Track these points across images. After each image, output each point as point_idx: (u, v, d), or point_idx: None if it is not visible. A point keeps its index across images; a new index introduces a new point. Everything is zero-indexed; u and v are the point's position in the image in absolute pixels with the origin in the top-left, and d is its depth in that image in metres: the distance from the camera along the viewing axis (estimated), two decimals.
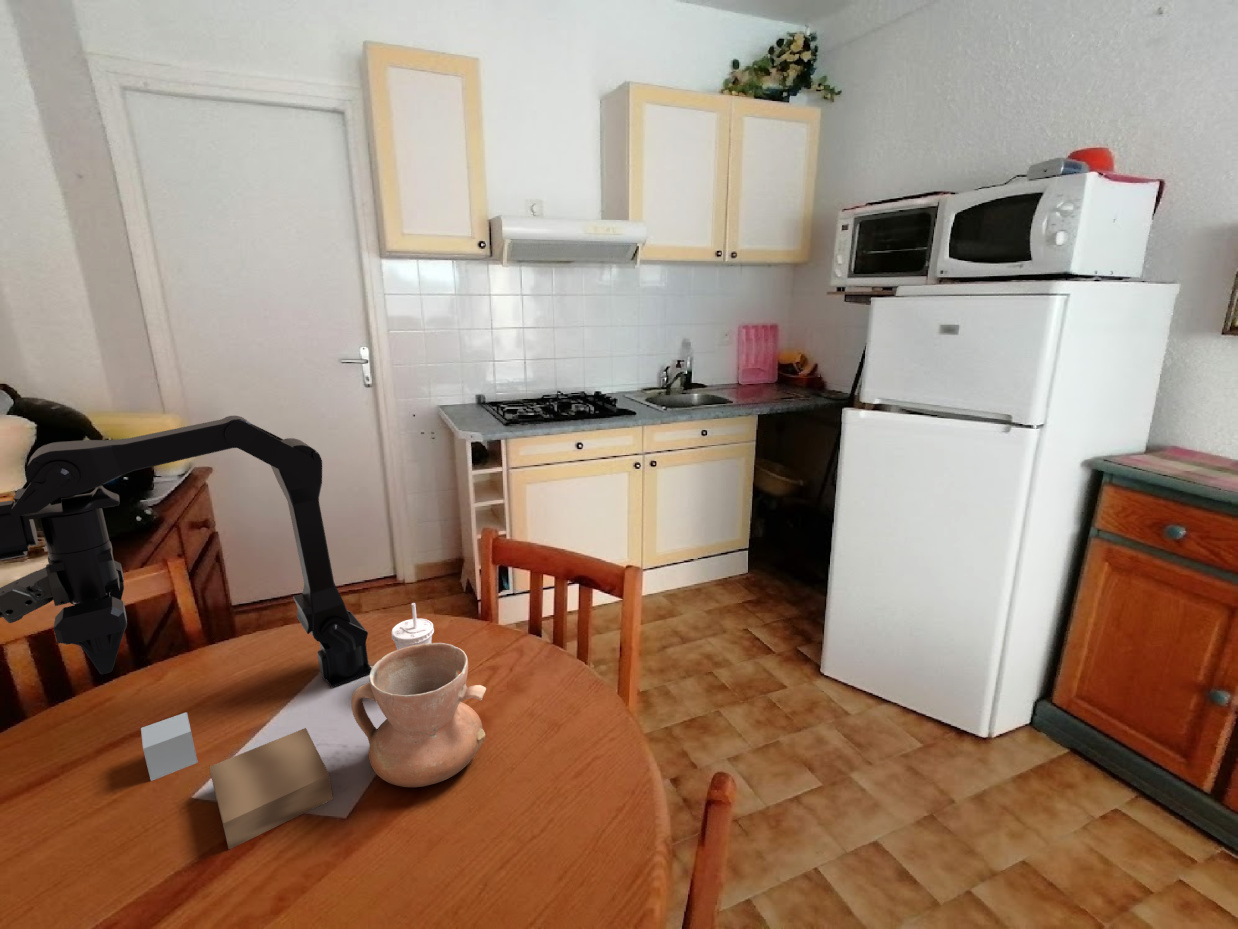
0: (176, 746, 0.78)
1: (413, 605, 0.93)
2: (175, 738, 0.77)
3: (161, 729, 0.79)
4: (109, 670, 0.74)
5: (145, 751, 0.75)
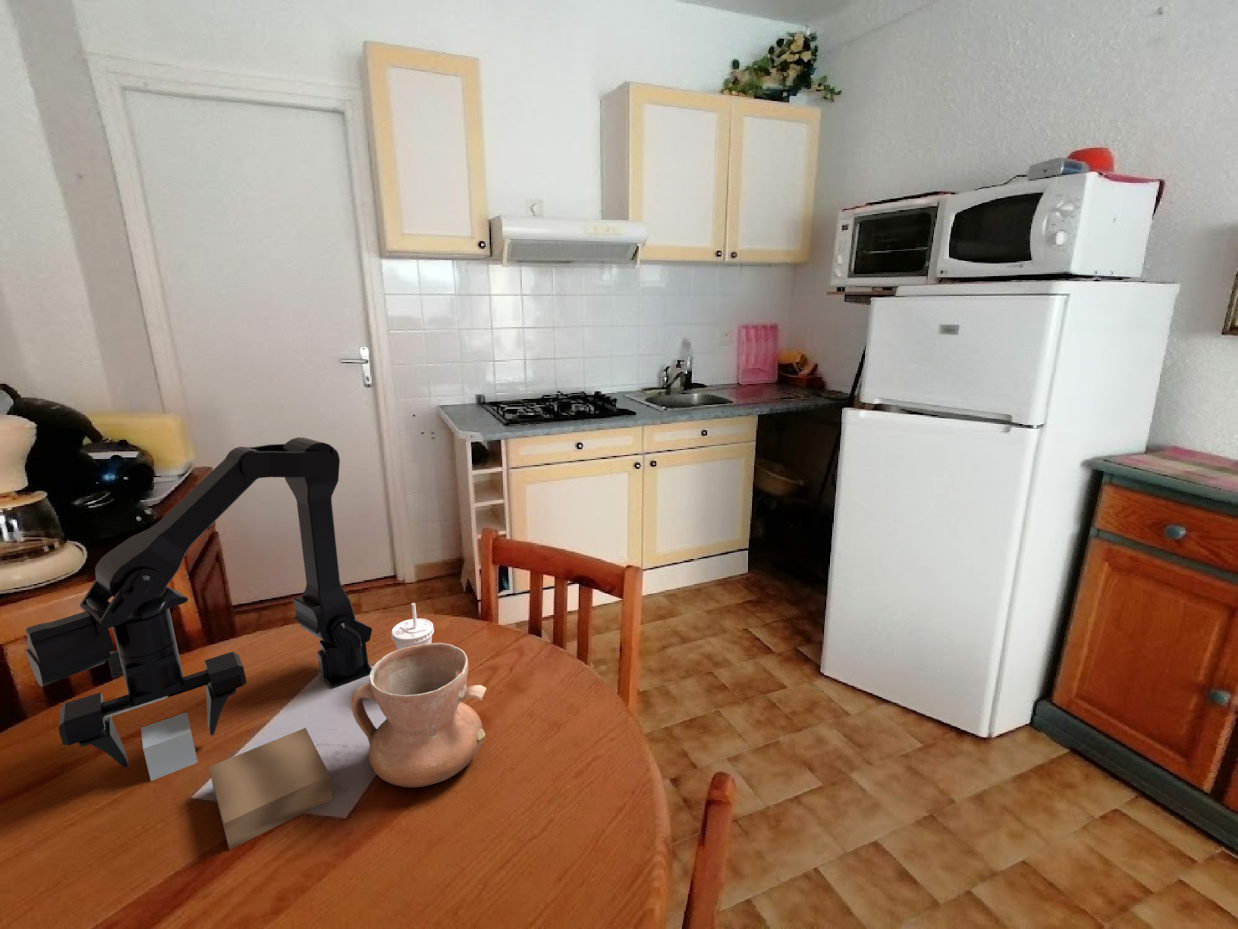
0: (176, 746, 0.78)
1: (413, 605, 0.93)
2: (175, 738, 0.77)
3: (161, 729, 0.79)
4: (125, 765, 0.76)
5: (145, 751, 0.75)
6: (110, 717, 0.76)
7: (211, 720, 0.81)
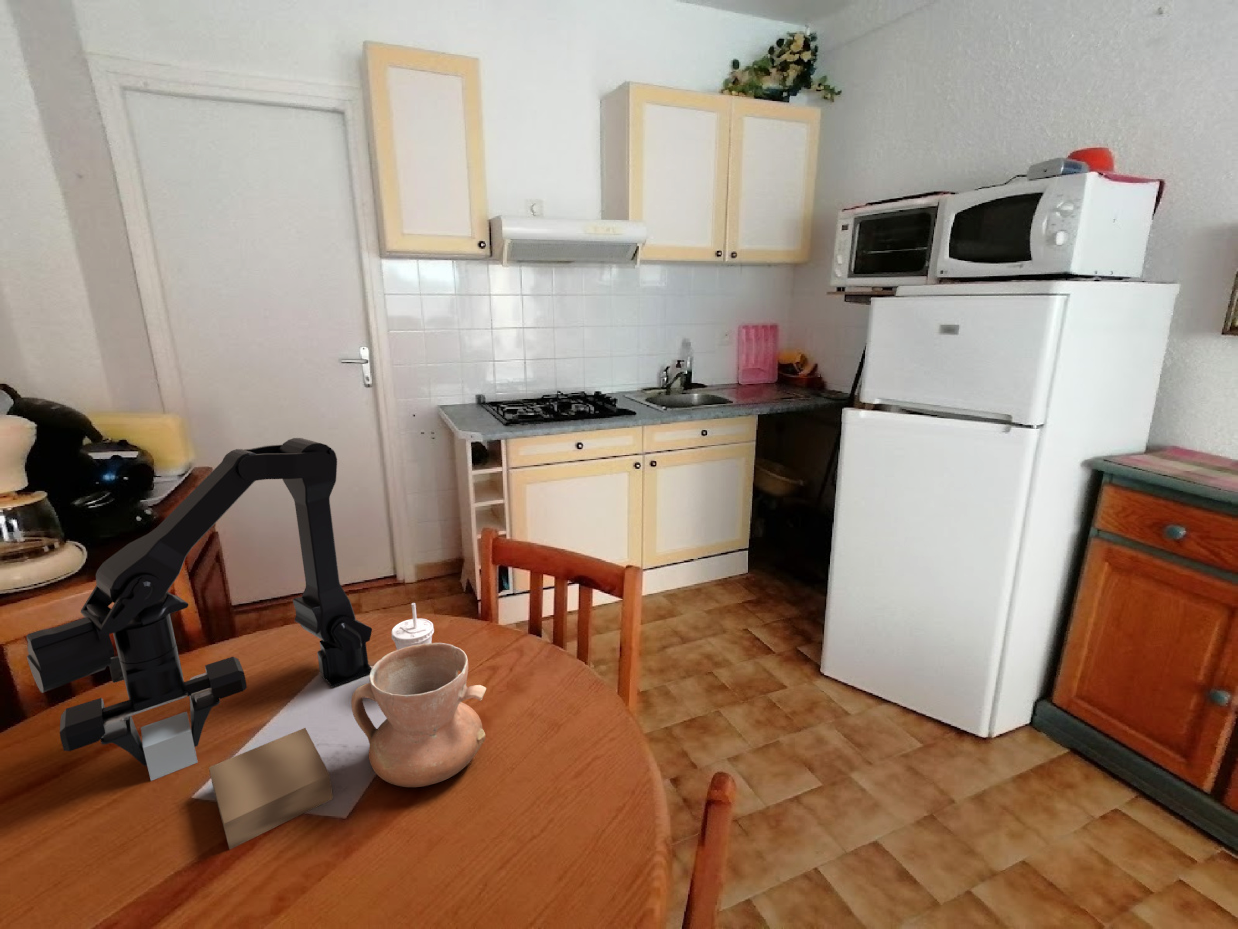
0: (176, 745, 0.78)
1: (413, 605, 0.93)
2: (175, 738, 0.77)
3: (161, 729, 0.79)
4: (145, 763, 0.78)
5: (145, 750, 0.75)
6: (130, 716, 0.77)
7: (194, 731, 0.79)
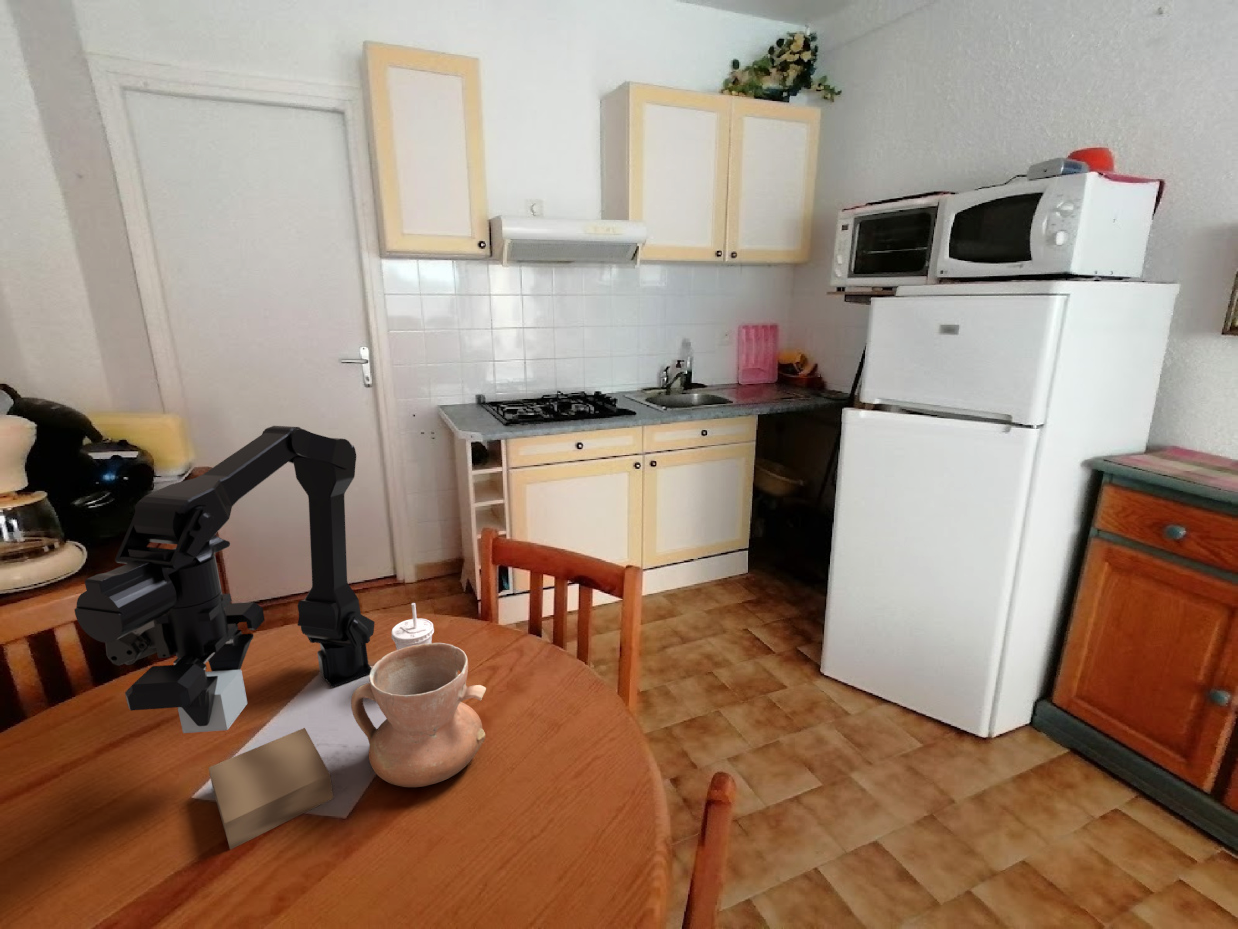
0: (236, 687, 0.74)
1: (413, 605, 0.93)
2: (234, 679, 0.74)
3: None
4: (205, 723, 0.71)
5: (221, 697, 0.71)
6: None
7: None
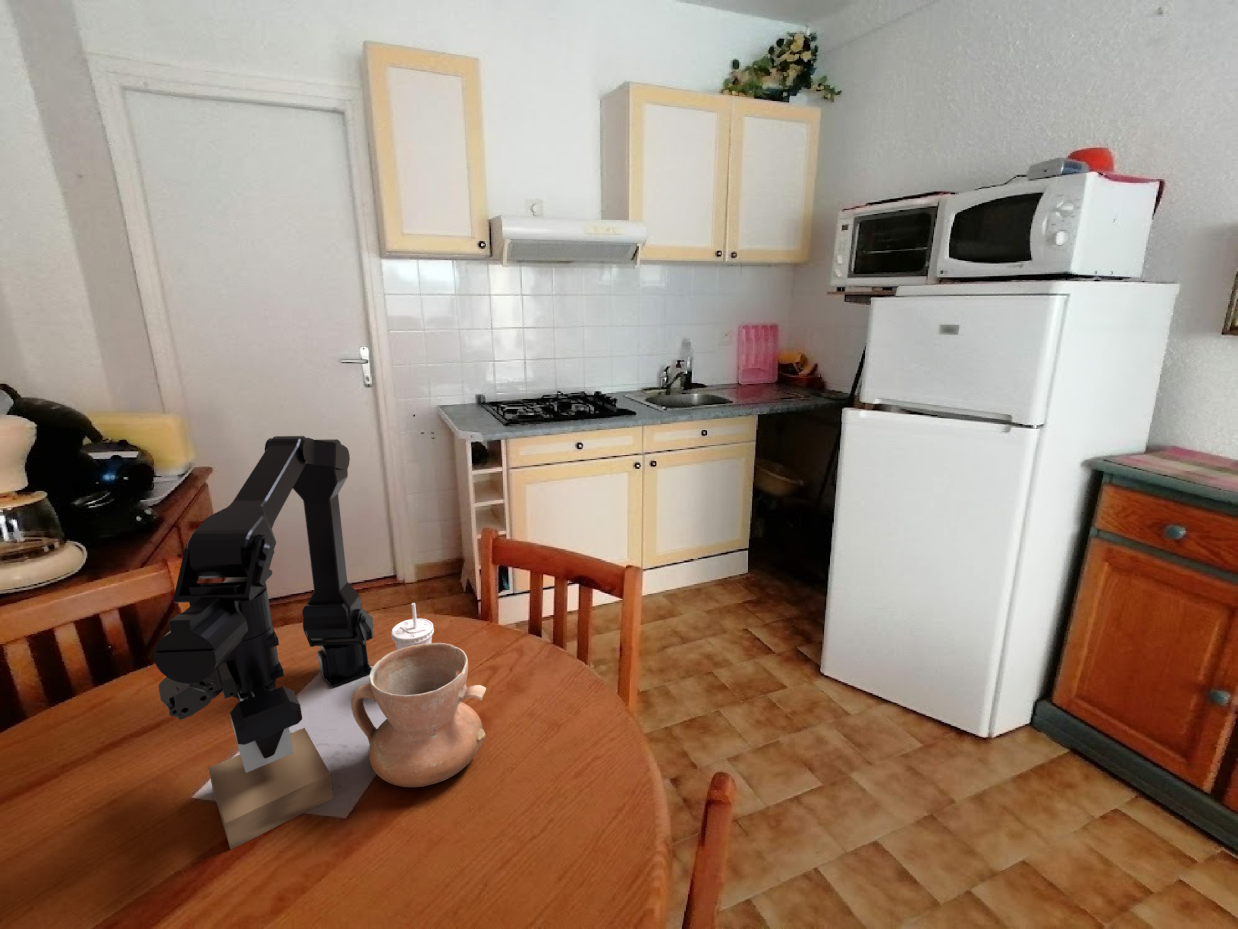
0: None
1: (413, 605, 0.93)
2: None
3: None
4: (271, 754, 0.71)
5: None
6: None
7: None
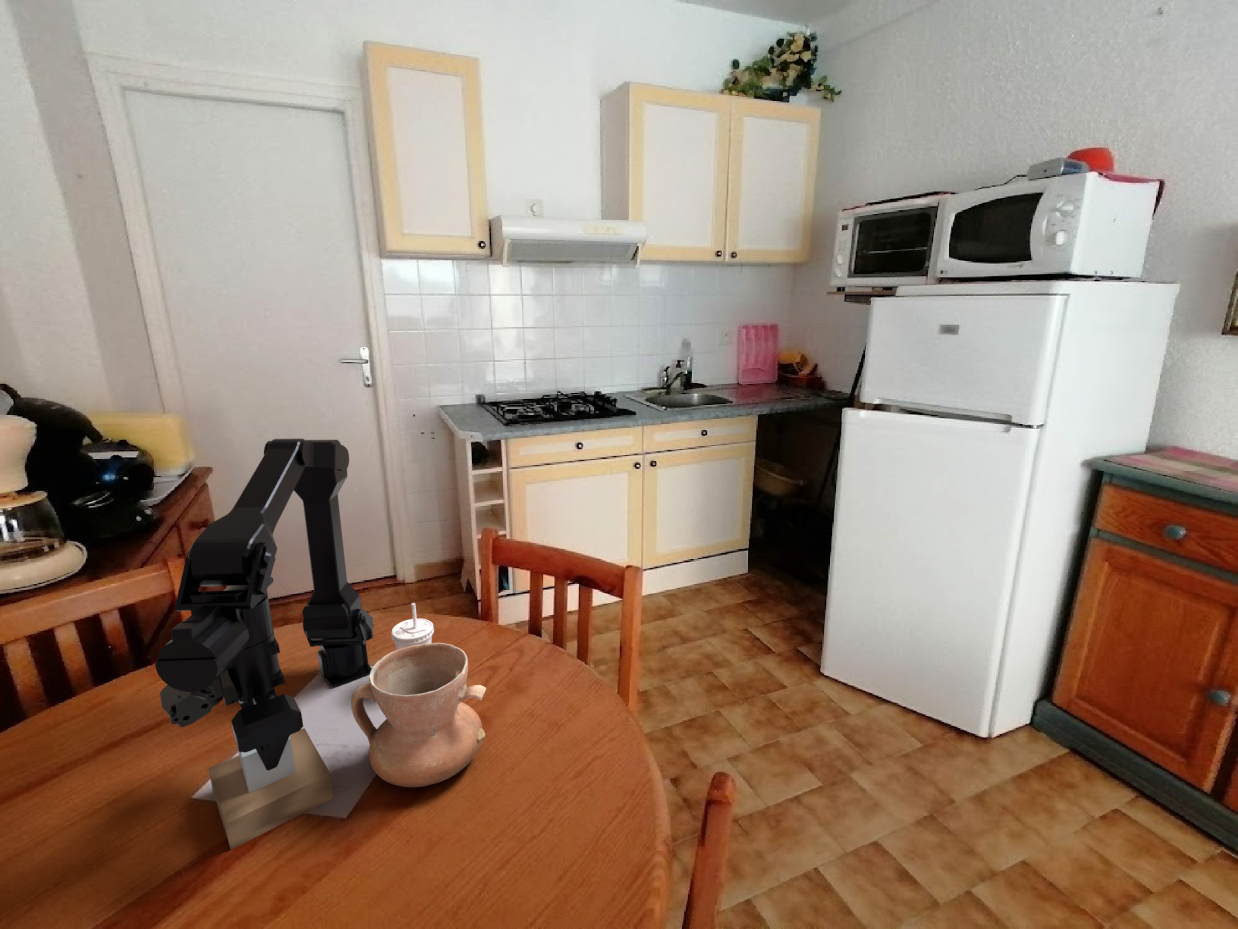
0: None
1: (413, 605, 0.93)
2: None
3: None
4: (274, 766, 0.70)
5: (290, 740, 0.72)
6: None
7: None
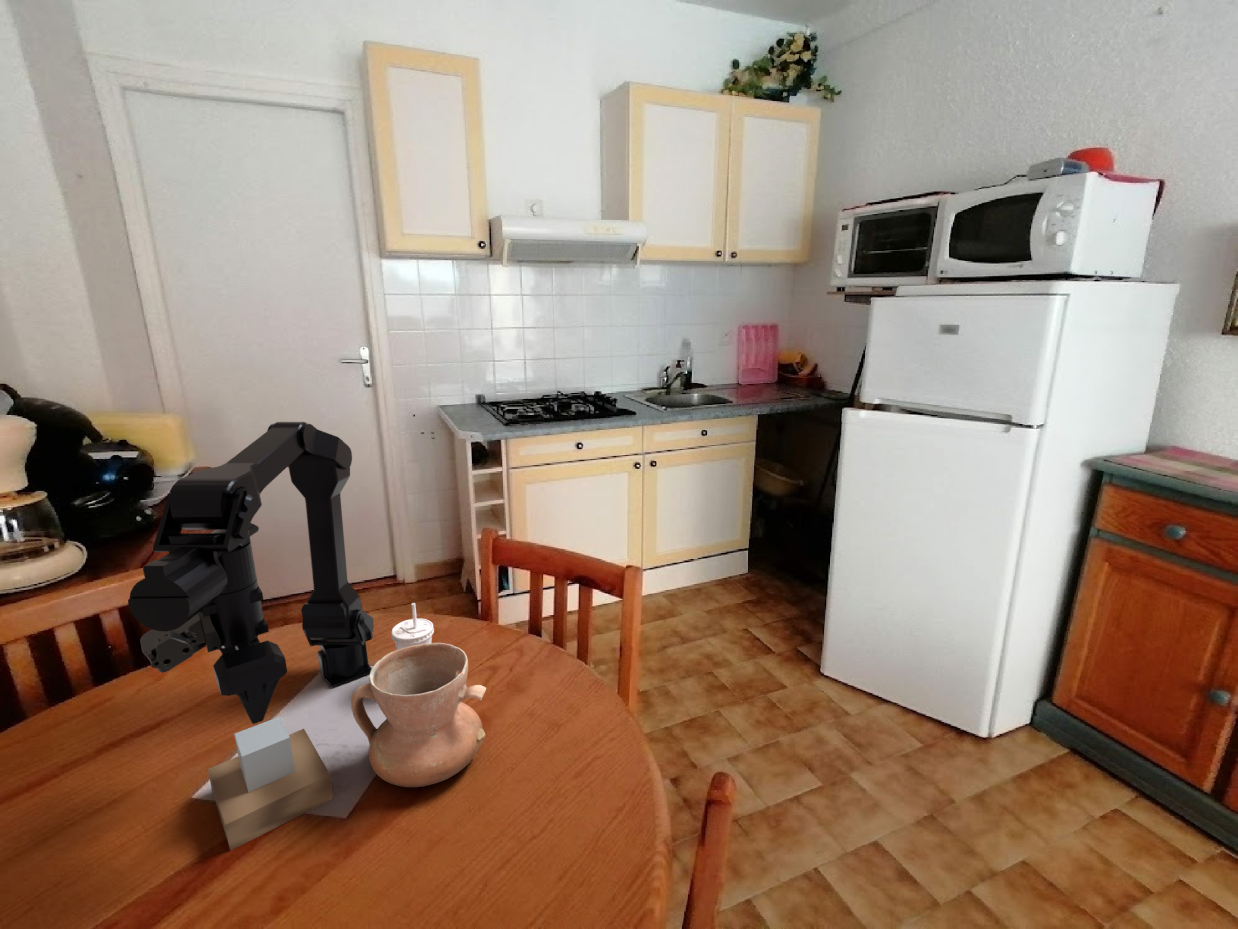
0: None
1: (413, 605, 0.93)
2: (283, 725, 0.75)
3: (259, 738, 0.72)
4: (260, 719, 0.69)
5: (289, 740, 0.72)
6: None
7: None
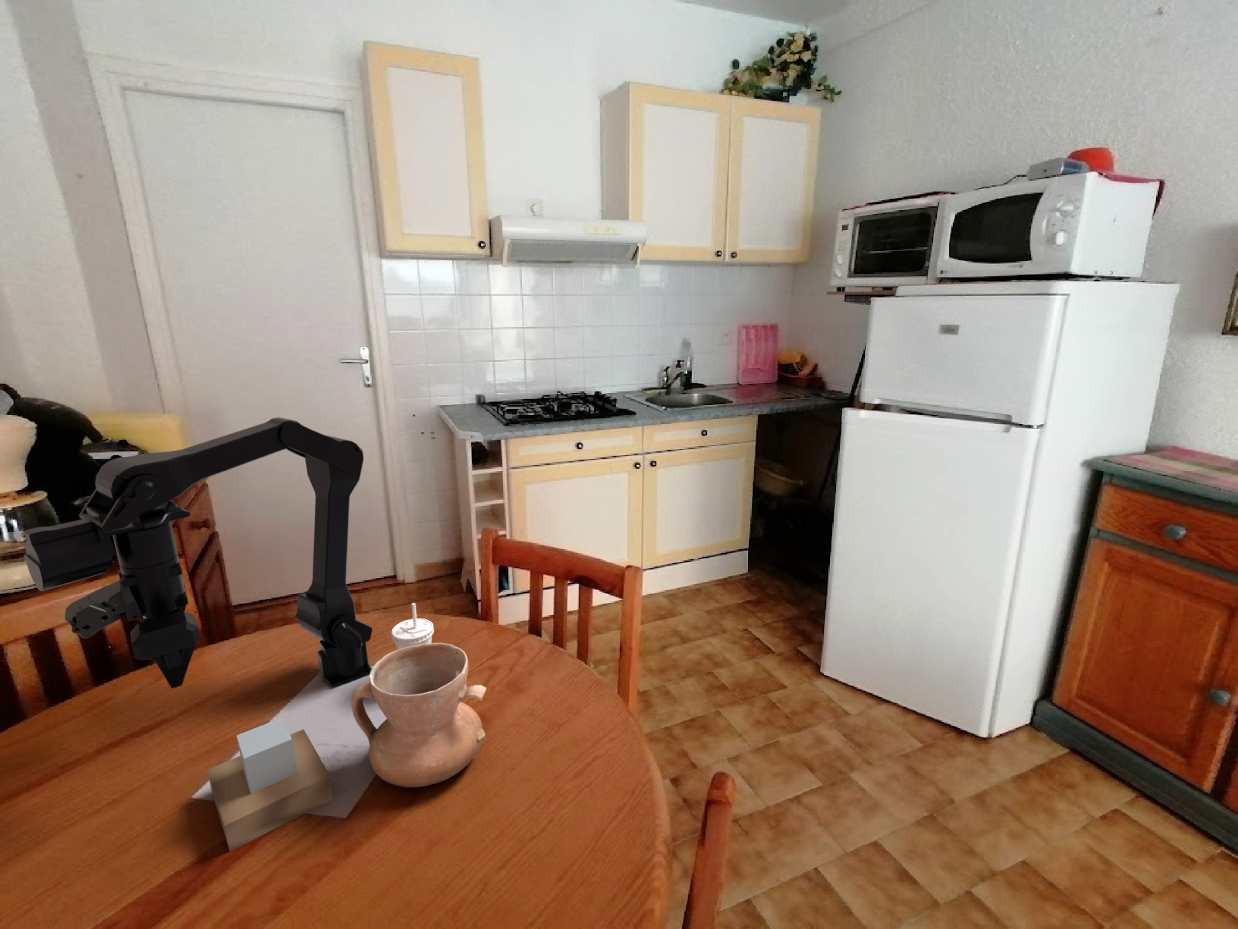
0: None
1: (413, 605, 0.93)
2: (285, 726, 0.74)
3: (261, 740, 0.72)
4: (179, 684, 0.74)
5: (291, 741, 0.72)
6: None
7: None
